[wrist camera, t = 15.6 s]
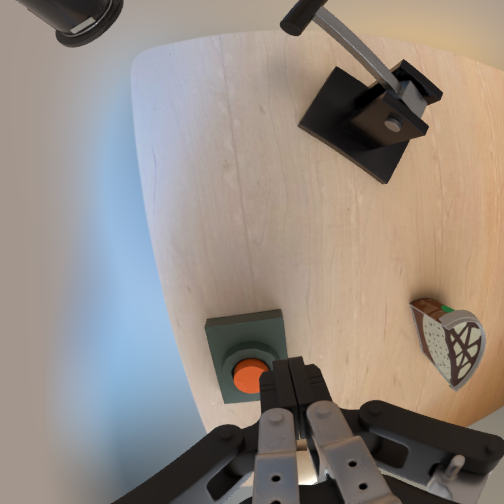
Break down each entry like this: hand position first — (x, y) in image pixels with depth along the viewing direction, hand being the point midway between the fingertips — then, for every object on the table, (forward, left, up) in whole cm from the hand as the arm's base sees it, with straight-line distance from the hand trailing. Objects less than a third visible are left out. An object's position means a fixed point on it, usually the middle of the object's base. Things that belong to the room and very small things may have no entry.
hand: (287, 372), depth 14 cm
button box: (+2, -12, -20) cm, 23 cm away
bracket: (+6, +19, -20) cm, 28 cm away
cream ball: (+16, -31, -20) cm, 40 cm away
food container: (+26, -1, -20) cm, 33 cm away
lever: (+1, +21, -8) cm, 22 cm away
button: (+2, -12, -17) cm, 20 cm away
